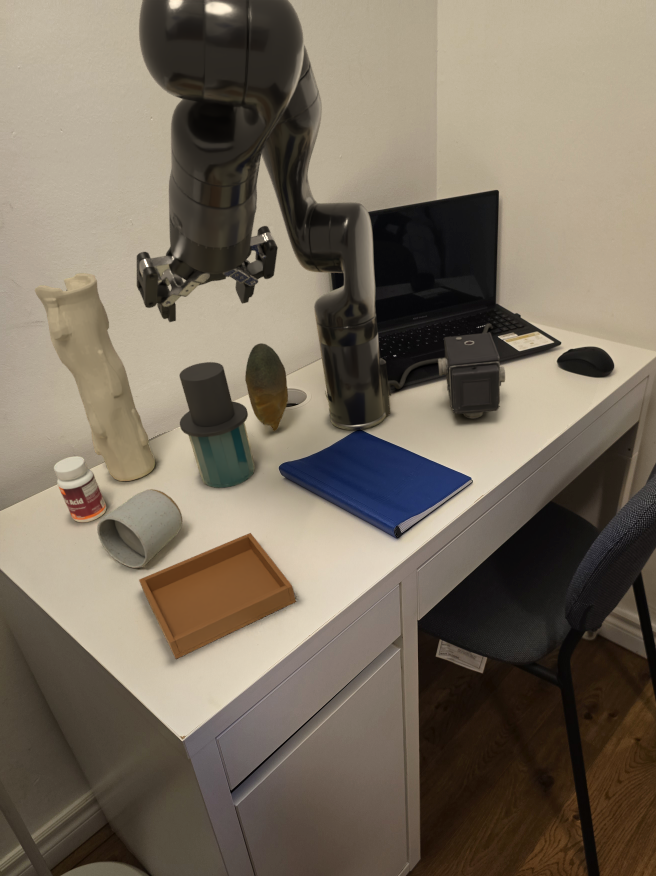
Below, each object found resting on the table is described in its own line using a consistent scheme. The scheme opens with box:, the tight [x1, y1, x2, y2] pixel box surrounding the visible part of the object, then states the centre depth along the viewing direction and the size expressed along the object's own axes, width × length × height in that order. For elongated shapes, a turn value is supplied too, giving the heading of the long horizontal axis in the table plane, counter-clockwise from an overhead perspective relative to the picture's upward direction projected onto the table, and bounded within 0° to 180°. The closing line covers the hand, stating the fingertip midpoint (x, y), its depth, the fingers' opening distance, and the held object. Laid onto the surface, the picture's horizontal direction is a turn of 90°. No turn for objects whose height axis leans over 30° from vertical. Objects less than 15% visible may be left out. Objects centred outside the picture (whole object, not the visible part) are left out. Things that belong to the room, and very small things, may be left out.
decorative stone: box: [244, 343, 289, 432], centre depth 104 cm, size 10×6×15 cm, turn 166°
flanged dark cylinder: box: [179, 361, 249, 437], centre depth 92 cm, size 10×10×9 cm
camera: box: [437, 331, 506, 419], centre depth 105 cm, size 11×11×15 cm
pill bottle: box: [53, 455, 107, 523], centre depth 91 cm, size 5×5×8 cm
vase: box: [34, 272, 156, 482], centre depth 94 cm, size 9×8×30 cm
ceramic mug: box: [96, 488, 184, 569], centre depth 84 cm, size 11×8×8 cm
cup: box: [188, 421, 256, 489], centre depth 96 cm, size 8×8×9 cm
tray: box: [138, 532, 297, 660], centre depth 76 cm, size 14×12×2 cm
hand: (205, 305), depth 74 cm, fingers open, 8 cm apart
